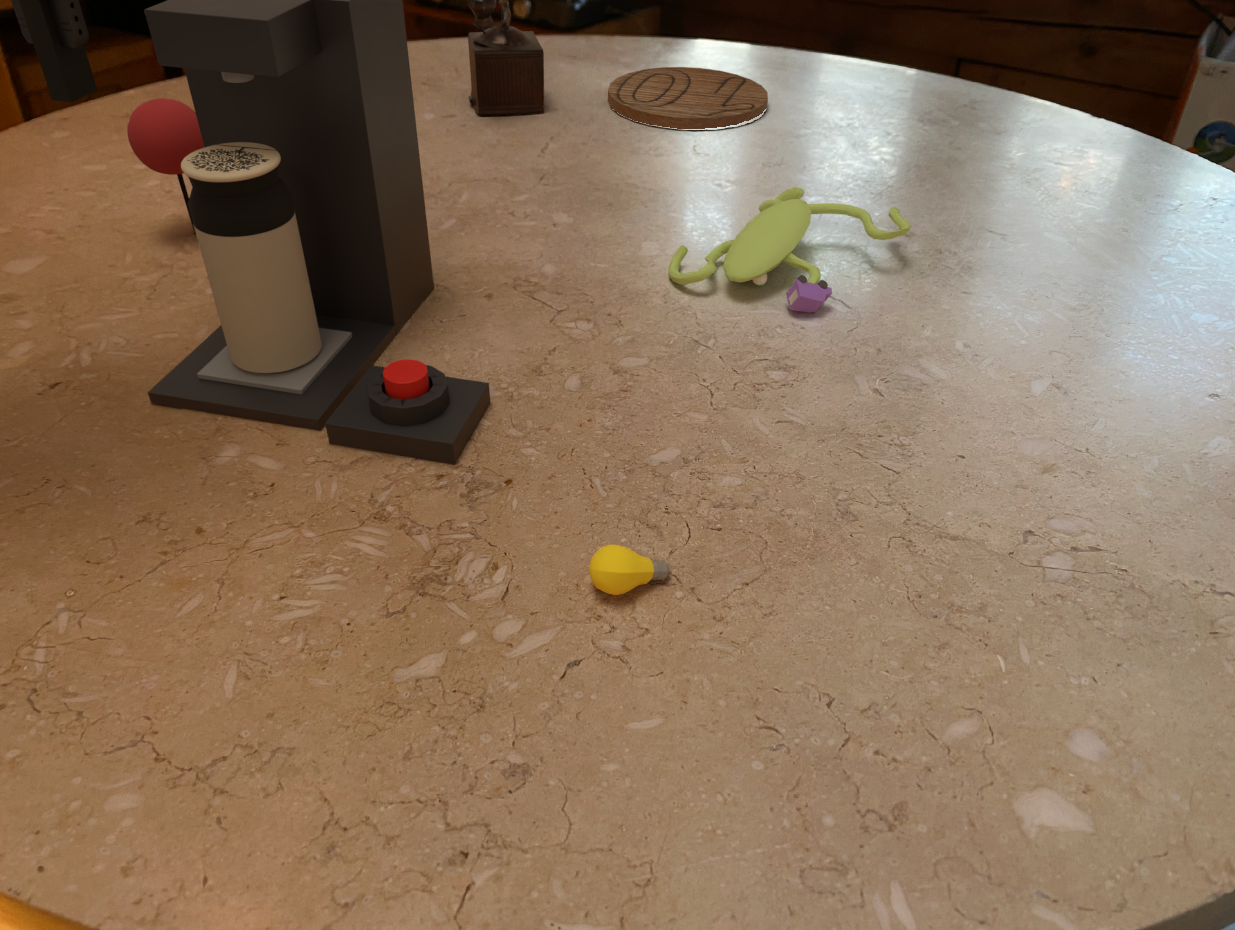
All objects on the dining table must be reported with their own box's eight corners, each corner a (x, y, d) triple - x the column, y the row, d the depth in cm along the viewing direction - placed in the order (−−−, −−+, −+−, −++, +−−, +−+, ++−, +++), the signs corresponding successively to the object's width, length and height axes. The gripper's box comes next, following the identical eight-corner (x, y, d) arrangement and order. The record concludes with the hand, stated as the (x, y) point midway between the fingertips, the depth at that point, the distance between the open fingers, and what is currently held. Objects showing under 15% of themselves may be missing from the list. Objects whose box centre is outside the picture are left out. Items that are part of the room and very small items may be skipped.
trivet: (774, 87, 155) (775, 75, 154) (757, 138, 136) (758, 125, 135) (627, 73, 159) (627, 61, 158) (590, 121, 140) (590, 108, 139)
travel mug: (289, 384, 82) (242, 184, 70) (212, 366, 83) (154, 168, 72) (339, 339, 87) (302, 148, 76) (265, 323, 89) (220, 135, 78)
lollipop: (203, 214, 112) (168, 84, 102) (244, 231, 108) (212, 98, 99) (145, 236, 107) (103, 102, 98) (186, 255, 104) (147, 118, 94)
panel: (329, 444, 78) (320, 405, 75) (374, 385, 85) (368, 347, 82) (454, 465, 76) (450, 425, 74) (490, 403, 83) (487, 365, 80)
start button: (378, 397, 77) (375, 379, 76) (396, 373, 80) (393, 356, 79) (419, 403, 77) (417, 385, 75) (435, 379, 79) (434, 362, 78)
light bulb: (578, 581, 66) (587, 535, 65) (654, 582, 69) (664, 538, 68) (594, 603, 63) (604, 555, 62) (673, 604, 66) (684, 557, 65)
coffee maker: (151, 403, 82) (22, 37, 63) (294, 269, 102) (229, -40, 83) (320, 431, 79) (239, 58, 60) (434, 288, 99) (399, -26, 80)
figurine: (920, 253, 108) (932, 207, 105) (792, 340, 93) (801, 289, 89) (786, 206, 118) (793, 163, 114) (649, 278, 102) (652, 230, 98)
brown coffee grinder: (466, 95, 148) (456, -32, 137) (535, 92, 150) (532, -33, 139) (476, 129, 136) (467, -6, 125) (551, 125, 138) (549, -8, 127)
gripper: (-244, -376, 47) (-50, 102, 62) (-15, -365, 45) (128, 124, 60) (-122, -367, 53) (28, 69, 68) (85, -357, 51) (193, 88, 66)
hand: (75, 94), depth 64 cm, fingers closed
